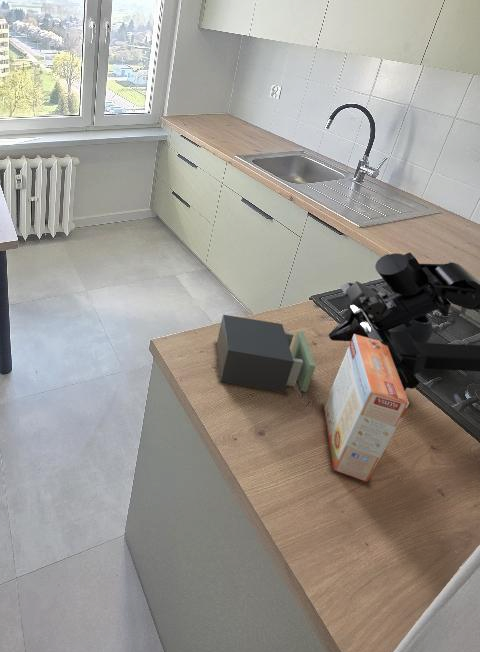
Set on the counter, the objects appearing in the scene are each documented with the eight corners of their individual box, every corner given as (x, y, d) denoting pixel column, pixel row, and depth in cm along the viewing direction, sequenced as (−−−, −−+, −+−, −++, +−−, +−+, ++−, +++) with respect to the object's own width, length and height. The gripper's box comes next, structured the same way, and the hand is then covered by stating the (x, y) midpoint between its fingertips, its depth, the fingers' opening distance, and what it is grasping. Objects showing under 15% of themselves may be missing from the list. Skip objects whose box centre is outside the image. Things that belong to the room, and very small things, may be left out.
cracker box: (369, 484, 74) (411, 404, 66) (332, 471, 76) (368, 391, 67) (354, 416, 86) (388, 341, 78) (322, 406, 88) (352, 331, 79)
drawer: (300, 357, 99) (308, 332, 96) (312, 392, 90) (322, 367, 87) (241, 347, 101) (247, 322, 98) (247, 381, 92) (254, 355, 89)
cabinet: (273, 353, 101) (282, 323, 97) (283, 392, 91) (294, 361, 87) (216, 343, 102) (223, 314, 99) (220, 381, 93) (228, 350, 89)
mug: (420, 372, 98) (438, 335, 93) (375, 350, 103) (391, 314, 98) (427, 344, 106) (444, 309, 101) (385, 325, 111) (400, 291, 107)
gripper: (363, 251, 90) (297, 285, 96) (405, 310, 73) (322, 346, 79) (390, 286, 92) (324, 316, 98) (437, 351, 75) (354, 383, 82)
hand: (330, 337), depth 89 cm, fingers closed
